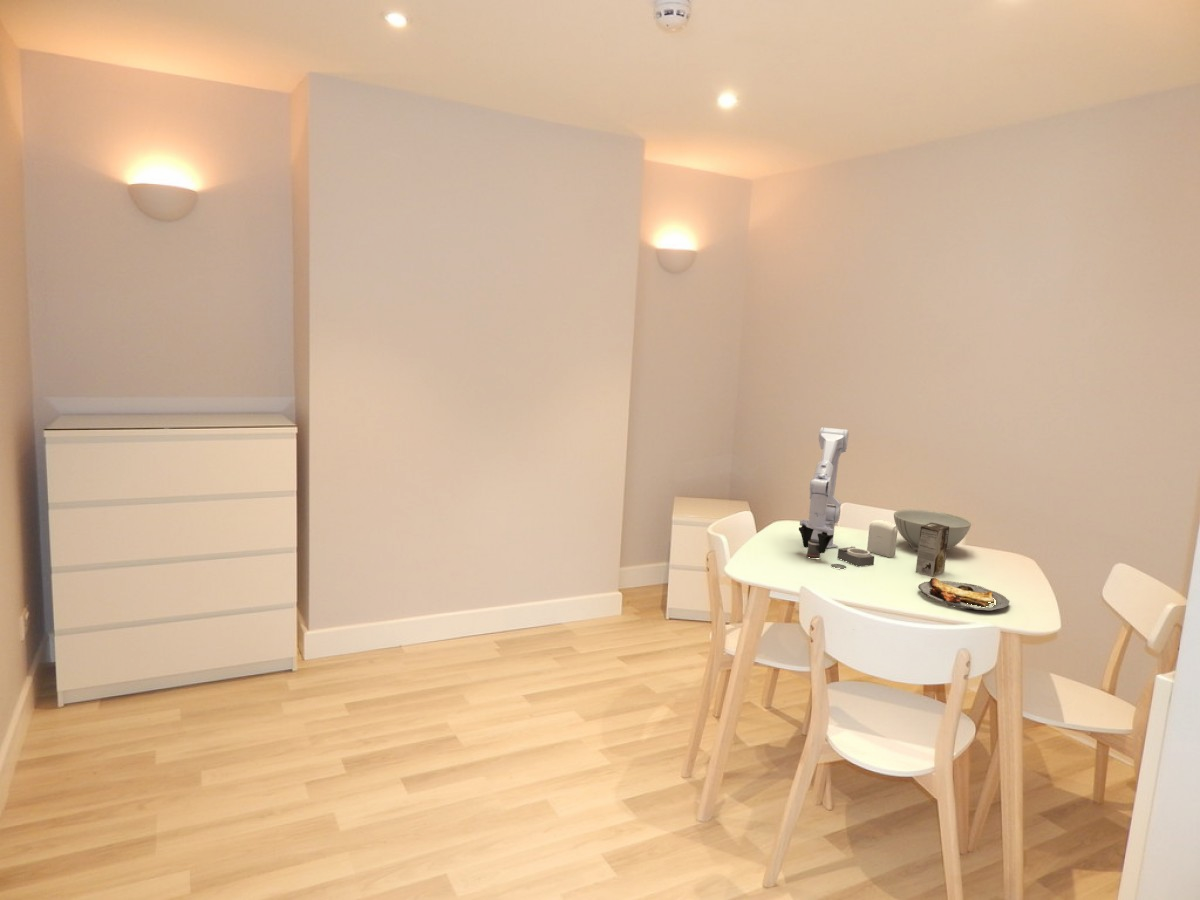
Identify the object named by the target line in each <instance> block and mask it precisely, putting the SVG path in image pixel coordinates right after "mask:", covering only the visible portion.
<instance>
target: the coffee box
mask: <svg viewBox="0 0 1200 900" xmlns="http://www.w3.org/2000/svg"><path fill="white" fill-rule="evenodd" d="M948 534H949V526H944V525H941V524H937V523H929V524H926V525H924V526H921V531H920V539H919V548H918V551H917V557H916V565H915V573H917V574H921V575H924V576H928V577H931V578H935V577H936V576H938V575H940V574H942V573H944V572H945V568H946V560H947V559H946V558H947V550H948V549H947V543H948Z"/></svg>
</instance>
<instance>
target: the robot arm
mask: <svg viewBox="0 0 1200 900" xmlns="http://www.w3.org/2000/svg"><path fill="white" fill-rule="evenodd" d="M818 433H819V434H818V442H819V446H820V449H821V450H822V453H821V455H822V456H821V460H820V461H818V463H817V464H816V468H815V472H814V475H813V478H812V479H811V480H810V483H809V499H810V501H809V510H808V511H809V512H808V513H809V514H808V520H806V519H799V526H801V527H798V531H799V533H800V535H801V539H802V544H803V548H807V549H808V540H810V539H816V540H819V553H820V555H822V554H825V552H826V550H827V549H830V548H838V547H839V546H838V545H837V544H835V543H834V537H835V536H834V535H835V524H837V523H839V521H840V518H841V517H840V516H841V506H842V505H841V502H840V501H839V500H838V498H836V497H835V491H836V484H837V477H838V468H839V461H840V456H841V454H842V453H845V452H847V449H848V443H849V434H850V433H849V430H848V429H842V428H831V427H824V426H822V427H821V428H820V429H819V432H818Z"/></svg>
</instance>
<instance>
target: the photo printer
mask: <svg viewBox="0 0 1200 900" xmlns="http://www.w3.org/2000/svg"><path fill="white" fill-rule="evenodd" d="M898 533H899V531H898V528H897V526H896V524H893V522H890V521H888V520H887V521H886V520H882V519H878V520H877V519H875V520H872V521H870V523H869V527H868V537H867V546H866V547H867V548H866V550H867V551H869V552H870V553H873V554H876V555H880V556H884V557H887V558H894V557H895V556H896V551H897V550H896V549H897V541H898Z"/></svg>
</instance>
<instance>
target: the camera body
mask: <svg viewBox="0 0 1200 900" xmlns="http://www.w3.org/2000/svg"><path fill="white" fill-rule="evenodd" d="M836 558H839V559H838V560H840V559H842V560H841V561H843V560H844V561H843V562H845V561H847V562H846V563H848V562H849V563H848V564H851V563H852V564H851V565H853V564H854V566H856V565H857V566H856V567H858V566H861V567H866V566H865V565H868V566H873V565H874V563H875V556H874V555H871V552H869V551H867V549H863V548H859V547H858V548H857V547H856V546H854V545H851V546H848V547H841V548H838V549H837V557H836Z"/></svg>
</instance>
